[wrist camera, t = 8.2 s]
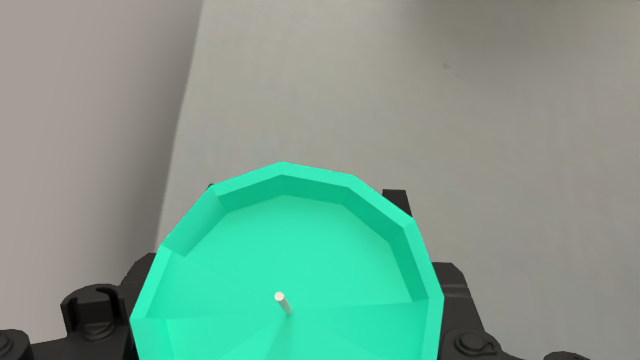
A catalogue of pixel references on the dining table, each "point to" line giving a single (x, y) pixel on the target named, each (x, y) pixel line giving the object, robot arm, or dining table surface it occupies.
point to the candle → (290, 275)
